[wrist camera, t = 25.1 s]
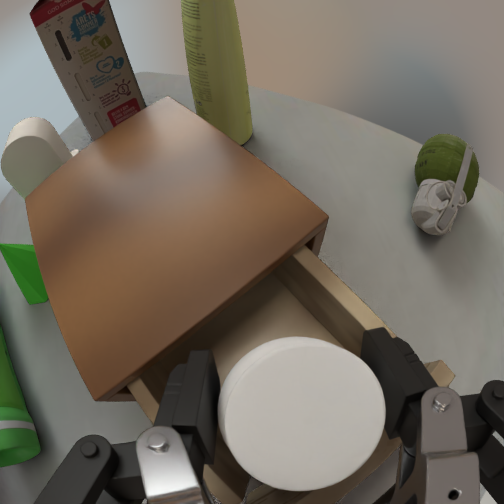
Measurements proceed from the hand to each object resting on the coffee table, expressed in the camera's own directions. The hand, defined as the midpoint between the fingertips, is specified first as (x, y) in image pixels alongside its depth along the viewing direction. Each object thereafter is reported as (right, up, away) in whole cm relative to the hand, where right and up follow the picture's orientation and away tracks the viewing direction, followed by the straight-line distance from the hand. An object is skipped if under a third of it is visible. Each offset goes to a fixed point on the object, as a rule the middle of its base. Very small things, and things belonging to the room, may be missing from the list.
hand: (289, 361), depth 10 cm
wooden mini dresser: (-7, +3, +10) cm, 13 cm away
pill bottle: (+1, -4, +4) cm, 6 cm away
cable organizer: (-20, +9, +15) cm, 26 cm away
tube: (-4, +15, +16) cm, 22 cm away
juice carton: (-17, +19, +19) cm, 32 cm away
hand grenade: (+17, +14, +9) cm, 23 cm away
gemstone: (-20, +2, +11) cm, 23 cm away
